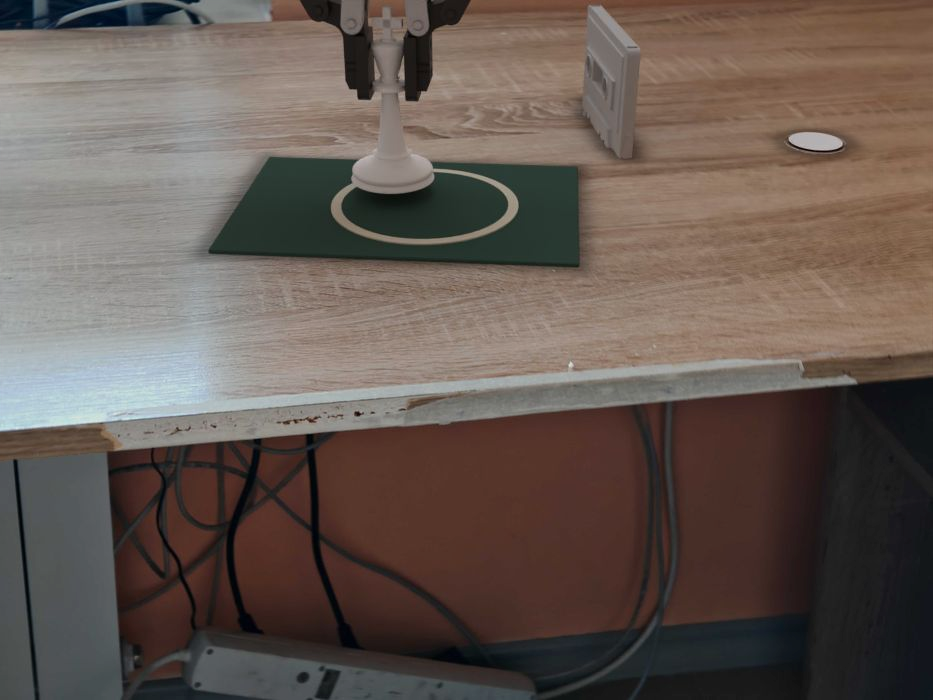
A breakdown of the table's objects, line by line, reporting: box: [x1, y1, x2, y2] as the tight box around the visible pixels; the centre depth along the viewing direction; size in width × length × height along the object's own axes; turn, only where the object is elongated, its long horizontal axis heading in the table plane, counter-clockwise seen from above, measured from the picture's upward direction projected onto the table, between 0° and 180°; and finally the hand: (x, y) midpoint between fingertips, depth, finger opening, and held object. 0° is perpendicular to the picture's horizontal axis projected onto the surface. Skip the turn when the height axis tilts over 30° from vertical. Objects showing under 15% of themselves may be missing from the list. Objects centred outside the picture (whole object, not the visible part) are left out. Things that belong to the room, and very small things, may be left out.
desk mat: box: [207, 156, 580, 268], centre depth 64 cm, size 20×14×1 cm
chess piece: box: [351, 5, 434, 194], centre depth 62 cm, size 5×5×10 cm
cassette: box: [581, 4, 642, 160], centre depth 74 cm, size 12×2×8 cm, turn 7°
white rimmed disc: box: [784, 131, 847, 155], centre depth 73 cm, size 4×4×1 cm
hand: (390, 95), depth 62 cm, fingers closed on chess piece
